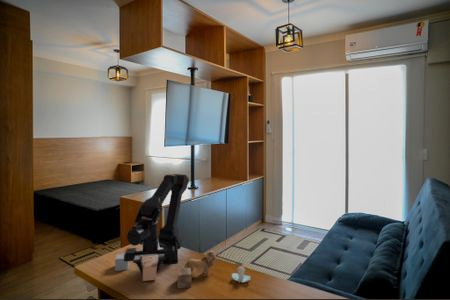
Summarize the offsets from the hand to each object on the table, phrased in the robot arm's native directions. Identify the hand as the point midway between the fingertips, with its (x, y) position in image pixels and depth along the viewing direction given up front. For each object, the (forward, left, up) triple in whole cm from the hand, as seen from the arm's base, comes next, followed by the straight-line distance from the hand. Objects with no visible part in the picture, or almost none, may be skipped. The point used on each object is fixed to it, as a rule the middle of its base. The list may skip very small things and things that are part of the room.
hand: (150, 274), depth 107 cm
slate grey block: (+12, -11, -2) cm, 16 cm away
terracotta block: (0, 0, -1) cm, 1 cm away
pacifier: (-35, +7, -2) cm, 36 cm away
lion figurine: (-20, 0, -2) cm, 20 cm away
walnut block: (-13, +6, -2) cm, 14 cm away
